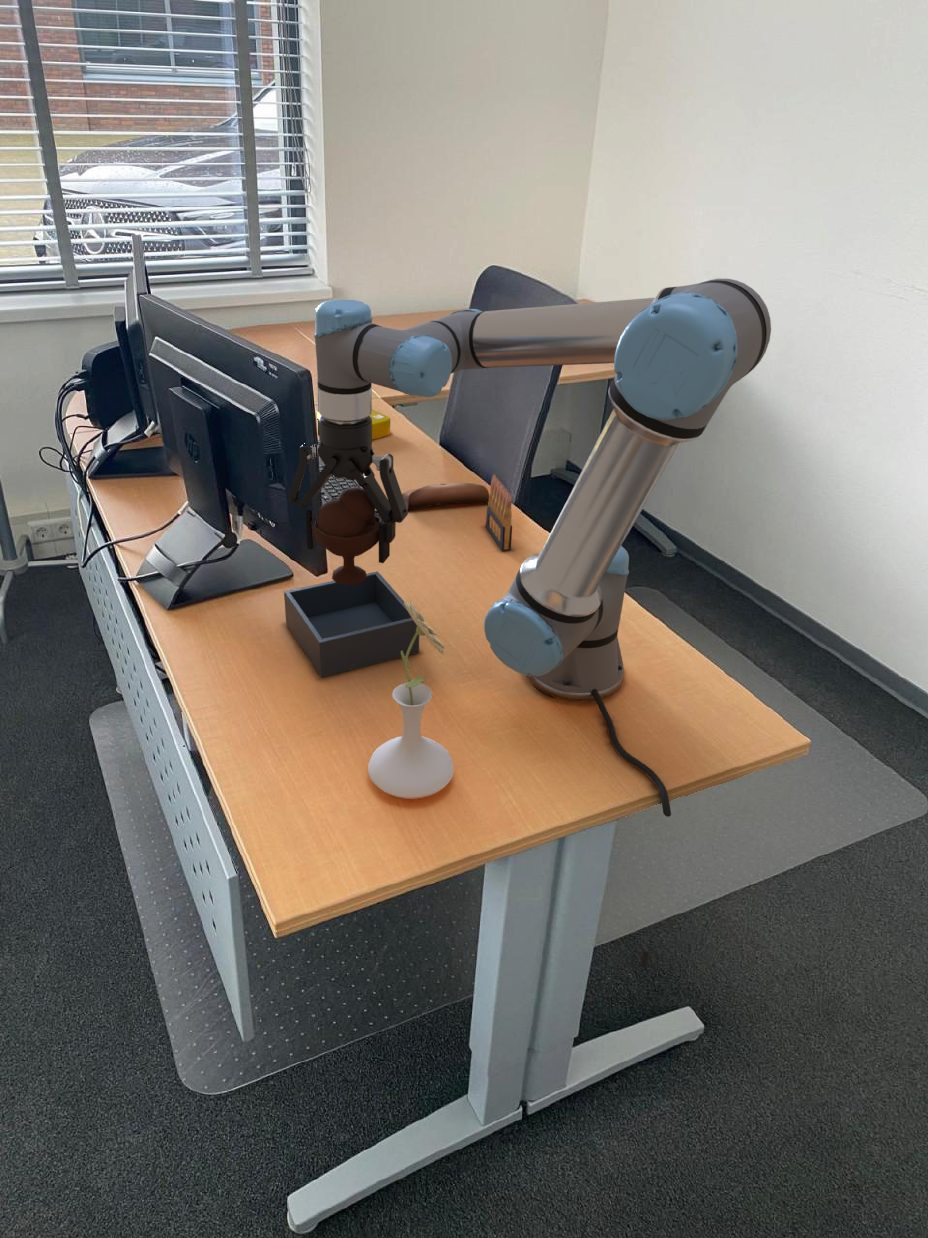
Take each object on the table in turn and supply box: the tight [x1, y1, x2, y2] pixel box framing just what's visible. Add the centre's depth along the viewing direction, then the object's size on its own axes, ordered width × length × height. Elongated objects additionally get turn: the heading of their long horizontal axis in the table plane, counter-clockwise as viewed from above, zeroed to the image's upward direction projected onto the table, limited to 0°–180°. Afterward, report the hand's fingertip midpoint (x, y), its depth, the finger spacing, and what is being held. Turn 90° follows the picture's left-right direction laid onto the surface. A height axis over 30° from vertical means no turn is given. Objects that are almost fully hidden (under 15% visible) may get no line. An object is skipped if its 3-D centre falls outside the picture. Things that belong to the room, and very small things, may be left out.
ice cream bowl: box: [312, 486, 382, 585], centre depth 138 cm, size 11×11×15 cm
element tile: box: [316, 408, 391, 441], centre depth 226 cm, size 15×15×5 cm
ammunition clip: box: [485, 473, 513, 552], centre depth 178 cm, size 11×2×12 cm, turn 17°
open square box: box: [283, 571, 420, 678], centre depth 147 cm, size 17×17×6 cm
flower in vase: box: [367, 600, 455, 800], centre depth 115 cm, size 13×11×25 cm
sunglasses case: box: [401, 482, 490, 511], centre depth 194 cm, size 18×7×7 cm
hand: (348, 552), depth 140 cm, fingers closed on ice cream bowl, 11 cm apart
